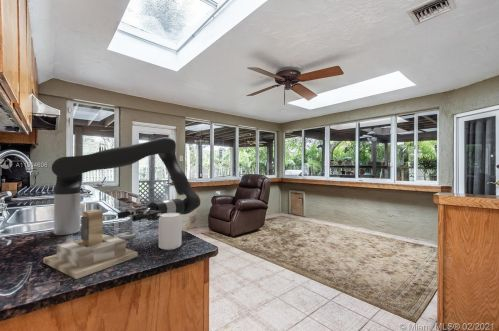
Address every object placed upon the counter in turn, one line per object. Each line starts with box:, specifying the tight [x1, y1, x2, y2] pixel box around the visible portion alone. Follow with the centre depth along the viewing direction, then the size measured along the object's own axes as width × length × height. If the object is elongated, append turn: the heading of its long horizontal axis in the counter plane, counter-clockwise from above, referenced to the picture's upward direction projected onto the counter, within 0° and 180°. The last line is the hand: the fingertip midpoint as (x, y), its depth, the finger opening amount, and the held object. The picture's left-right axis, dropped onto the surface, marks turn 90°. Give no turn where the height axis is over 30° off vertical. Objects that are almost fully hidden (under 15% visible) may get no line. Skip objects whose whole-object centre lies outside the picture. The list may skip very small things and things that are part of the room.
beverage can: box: [158, 213, 183, 251], centre depth 88 cm, size 8×8×12 cm
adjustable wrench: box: [113, 231, 137, 240], centre depth 92 cm, size 25×6×2 cm, turn 137°
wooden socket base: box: [42, 233, 139, 280], centre depth 76 cm, size 20×18×6 cm
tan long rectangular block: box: [80, 209, 104, 247], centre depth 76 cm, size 4×5×14 cm
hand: (125, 217), depth 85 cm, fingers open, 8 cm apart
